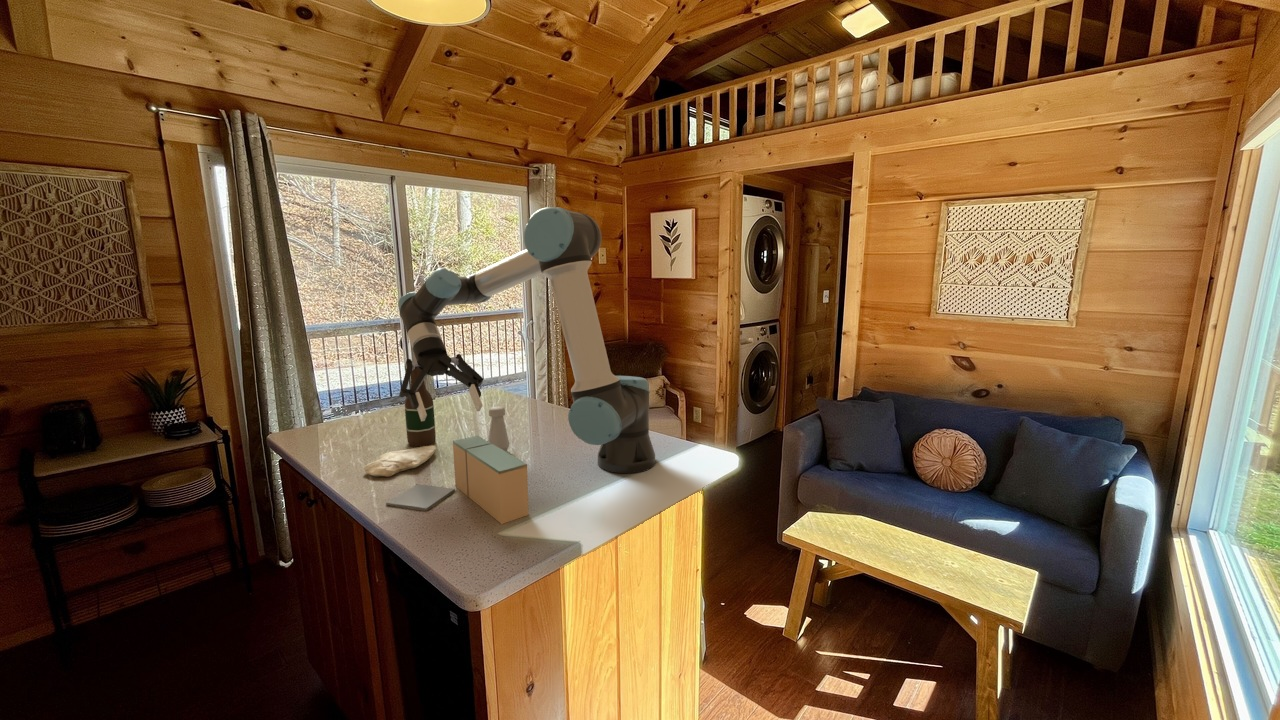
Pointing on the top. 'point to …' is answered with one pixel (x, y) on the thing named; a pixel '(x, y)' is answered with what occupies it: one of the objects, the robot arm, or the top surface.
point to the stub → (464, 459)
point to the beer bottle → (417, 429)
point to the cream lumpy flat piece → (399, 461)
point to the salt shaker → (498, 428)
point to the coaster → (420, 497)
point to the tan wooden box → (497, 482)
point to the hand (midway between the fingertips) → (452, 413)
